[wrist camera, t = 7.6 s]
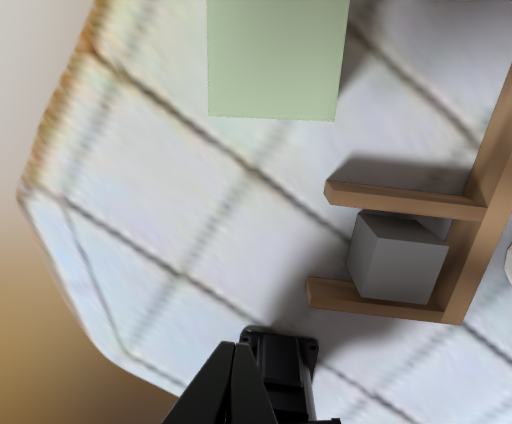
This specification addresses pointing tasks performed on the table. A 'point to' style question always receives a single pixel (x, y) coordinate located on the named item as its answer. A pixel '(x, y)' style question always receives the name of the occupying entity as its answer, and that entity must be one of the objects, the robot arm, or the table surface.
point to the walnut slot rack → (458, 238)
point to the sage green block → (275, 58)
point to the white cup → (509, 264)
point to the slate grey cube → (394, 259)
